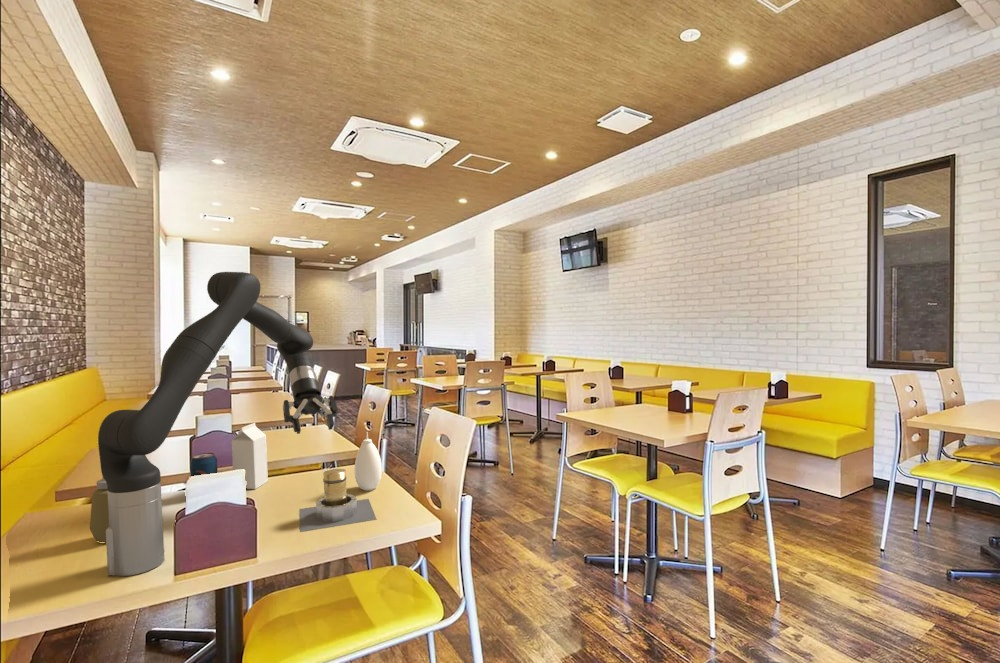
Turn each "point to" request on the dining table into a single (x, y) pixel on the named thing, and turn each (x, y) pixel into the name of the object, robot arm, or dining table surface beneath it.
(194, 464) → the soda can
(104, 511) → the squeeze bottle
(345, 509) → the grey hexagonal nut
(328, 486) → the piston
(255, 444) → the milk carton
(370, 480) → the sauce bottle
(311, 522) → the mat
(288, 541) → the dining table surface
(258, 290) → the robot arm
